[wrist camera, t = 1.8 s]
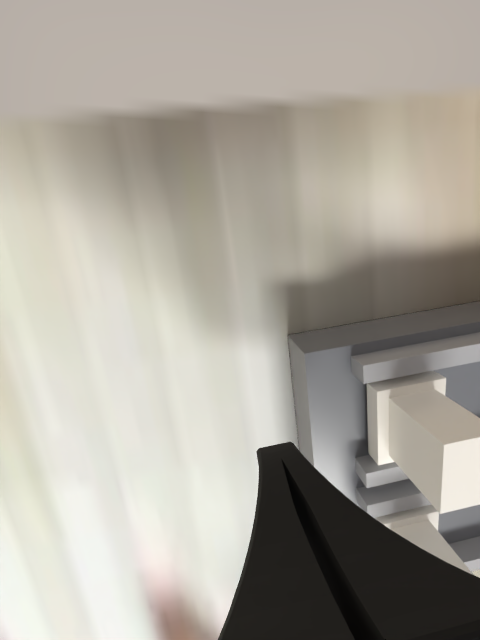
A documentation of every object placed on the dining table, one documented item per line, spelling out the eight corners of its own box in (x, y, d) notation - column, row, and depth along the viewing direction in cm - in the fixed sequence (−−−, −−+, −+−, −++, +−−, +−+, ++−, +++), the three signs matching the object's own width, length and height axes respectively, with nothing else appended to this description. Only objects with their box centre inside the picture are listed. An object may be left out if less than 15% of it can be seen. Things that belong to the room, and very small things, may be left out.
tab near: (432, 369, 13) (517, 418, 10) (429, 439, 14) (505, 507, 11) (366, 382, 13) (429, 437, 9) (368, 452, 14) (426, 526, 10)
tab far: (426, 497, 15) (496, 576, 12) (424, 551, 16) (488, 639, 13) (369, 510, 15) (423, 595, 11) (371, 564, 16) (420, 658, 12)
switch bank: (575, 284, 16) (673, 295, 13) (540, 491, 20) (609, 542, 17) (287, 335, 15) (312, 363, 12) (309, 547, 19) (332, 614, 15)
